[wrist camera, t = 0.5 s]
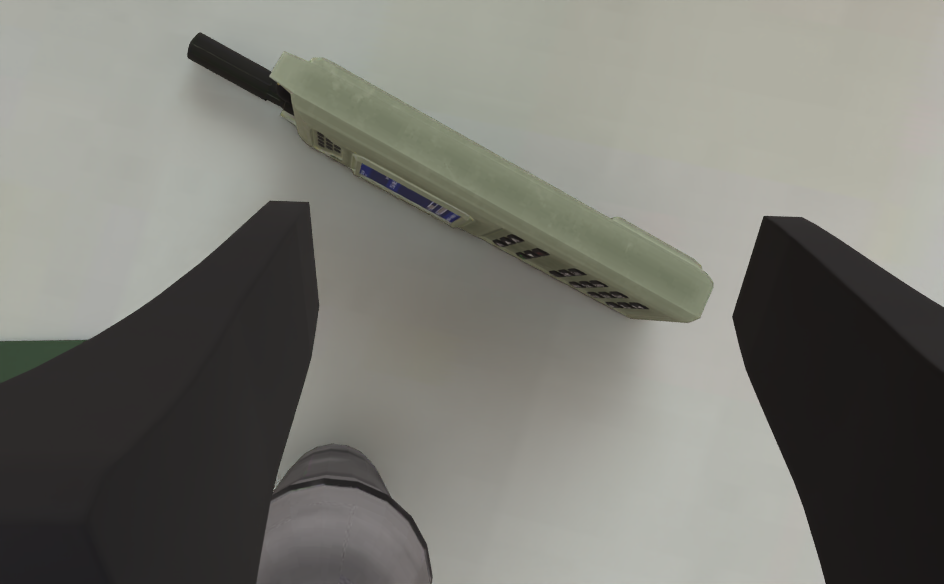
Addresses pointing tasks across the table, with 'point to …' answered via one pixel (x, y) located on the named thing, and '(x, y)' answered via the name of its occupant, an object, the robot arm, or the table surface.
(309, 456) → the beverage cup
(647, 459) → the table surface
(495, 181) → the handheld radio
